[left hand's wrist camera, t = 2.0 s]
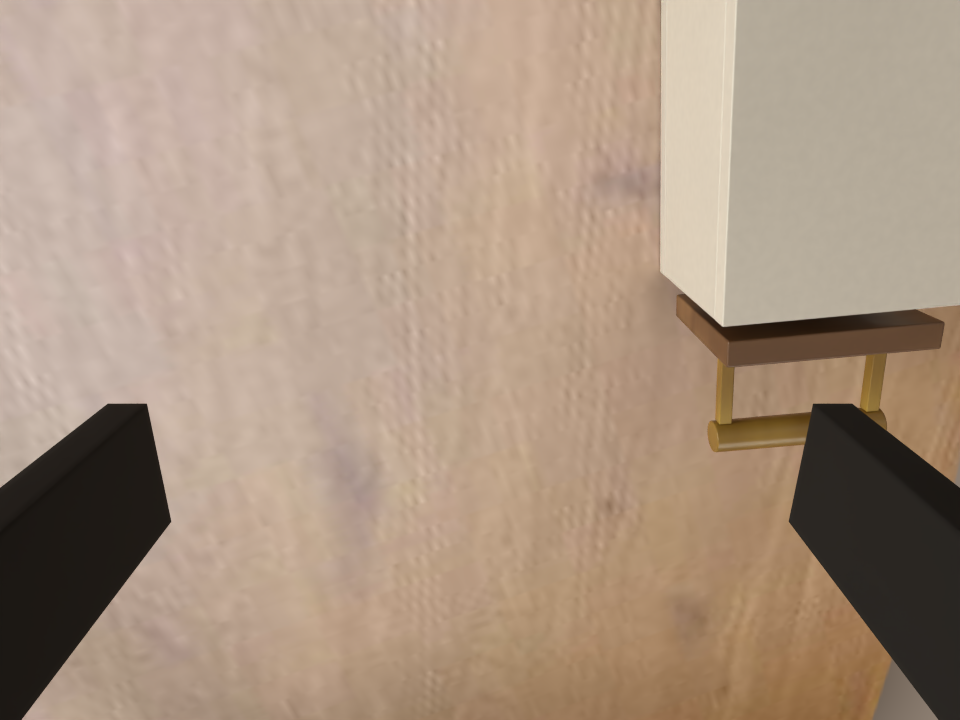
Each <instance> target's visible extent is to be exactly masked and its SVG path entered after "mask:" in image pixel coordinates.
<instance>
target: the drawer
mask: <svg viewBox="0 0 960 720" xmlns="http://www.w3.org/2000/svg"><path fill="white" fill-rule="evenodd" d="M676 315H677V317H678V318H679V319H680V320H681V321H682V322H683V323H684V324H685V325H686V326H687V327H688V328H689V329H690V330H691V331H692V332H693V333H694V334H695V335H696V336H697V337H698V338H699V339H700V340H701V341H702V342H703V344H704V345H705V346H706V347H707V348H708V349H709V350H710V351H711V352H712V353H713V354H714V355H715V356H716V357H717V358H718V365H717V391H716V416H715V419H716V420H715V421H710V422H709V424H708V440H709V444H710V446H711V449H712V450H713V451H714V452H724V451H736V450H747V449H759V448H771V447H783V446H794V445H805V441H806V436H807V431H808V426H809V422H810V417H811V412H807V413H795V414H784V415H772V416H761V417H749V418H738V419H732V406H733V385H734V367H741V366H752V365H763V364H774V363H785V362H796V361H807V360H819V359H830V358H841V357H852V356H863V355H866V363H865V371H864V378H863V386H862V394H861V402H860V407H861V408H858V409H859V410H861V411H862V412H863V413H865V414H866V415H867V416H868V417H870V418H871V419H872V420H873V421H875V422H876V423H877V424H879V425H880V426H881V427H882V428H884V429H885V430H887V422H886V418H885V415H884V413H883V412H882V410H881V409H880V408H879V406H880V399H881V391H882V384H883V377H884V370H885V363H886V356H887V353H896V352H908V351H919V350H930V349H939V348H940V347H941V341H942V336H943V330H944V322H943V321H941V320H938V319H936V318H934V317H932V316H929V315H927V314H925V313H923V312H921V311H918V310H916V309H912V310H901V311H890V312H879V313H868V314H857V315H847V316H836V317H825V318H814V319H803V320H792V321H781V322H771V323H760V324H749V325H738V326H727V327H722V326H721V325H720V324H719V323H718V322H717V321H716V320H715V319H714V318H712V317H711V316H710V315H709V314H708V313H707V312H706V311H704V310H703V309H702V308H701V307H700V306H699V305H698V304H696V303H695V302H694V301H693V300H692V299H691V298H690V297H688V296H687V295H686V294H680V295H677V309H676Z"/></svg>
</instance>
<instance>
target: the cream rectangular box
mask: <svg viewBox="0 0 960 720" xmlns="http://www.w3.org/2000/svg"><path fill="white" fill-rule="evenodd" d="M660 272H661V273H662V274H663V275H664V276H666V277H667V278H668V279H669V280H670V281H671V282H672V283H674V284H675V285H676V286H677V287H678V288H679V289H680V290H682V291H683V292H684V293H685V294H686V295H687V296H688V297H690V298H691V299H692V300H693V301H694V302H695V303H696V304H698V305H699V306H700V307H701V308H702V309H703V310H704V311H706V312H707V313H708V314H709V315H710V316H711V317H712V318H714V319H715V320H716V321H717V322H718V323H719V324H720V325H721V326H722V327H727V326H738V325H749V324H760V323H771V322H781V321H792V320H803V319H814V318H825V317H836V316H847V315H857V314H868V313H879V312H890V311H901V310H912V309H923V308H934V307H944V306H955V305H960V0H661V202H660Z"/></svg>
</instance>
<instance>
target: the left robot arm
mask: <svg viewBox="0 0 960 720" xmlns="http://www.w3.org/2000/svg"><path fill="white" fill-rule="evenodd" d="M170 523H171V518H170V513H169V509H168V504H167V499H166V494H165V489H164V484H163V480H162V475H161V470H160V465H159V460H158V455H157V451H156V446H155V441H154V436H153V431H152V426H151V422H150V417H149V412H148V407H147V404H107V405H106V406H104V407H103V408H102V409H101V410H99V411H98V412H97V413H95V414H94V415H93V416H92V417H90V418H89V419H88V420H87V421H85V422H84V423H83V424H81V425H80V426H79V427H78V428H76V429H75V430H74V431H72V432H71V433H70V434H69V435H67V436H66V437H65V438H63V439H62V440H61V441H60V442H58V443H57V444H56V445H55V446H53V447H52V448H51V449H49V450H48V451H47V452H46V453H44V454H43V455H42V456H40V457H39V458H38V459H37V460H35V461H34V462H33V463H31V464H30V465H29V466H28V467H26V468H25V469H24V470H23V471H21V472H20V473H19V474H17V475H16V476H15V477H14V478H12V479H11V480H10V481H8V482H7V483H6V484H5V485H3V486H2V487H1V488H0V720H22V718H23V717H24V716H25V714H26V713H27V712H28V710H29V709H30V708H31V706H32V705H33V704H34V702H35V701H36V700H37V698H38V697H39V696H40V694H41V693H42V692H43V691H44V689H45V688H46V687H47V685H48V684H49V683H50V681H51V680H52V679H53V677H54V676H55V675H56V673H57V672H58V671H59V669H60V668H61V667H62V665H63V664H64V663H65V661H66V660H67V659H68V657H69V656H70V655H71V653H72V652H73V651H74V650H75V648H76V647H77V646H78V644H79V643H80V642H81V640H82V639H83V638H84V636H85V635H86V634H87V632H88V631H89V630H90V628H91V627H92V626H93V624H94V623H95V622H96V620H97V619H98V618H99V616H100V615H101V614H102V612H103V611H104V610H105V608H106V607H107V606H108V605H109V603H110V602H111V601H112V599H113V598H114V597H115V595H116V594H117V593H118V591H119V590H120V589H121V587H122V586H123V585H124V583H125V582H126V581H127V579H128V578H129V577H130V575H131V574H132V573H133V571H134V570H135V569H136V567H137V566H138V565H139V564H140V562H141V561H142V560H143V558H144V557H145V556H146V554H147V553H148V552H149V550H150V549H151V548H152V546H153V545H154V544H155V542H156V541H157V540H158V538H159V537H160V536H161V534H162V533H163V532H164V530H165V529H166V528H167V526H168V525H169V524H170ZM789 523H790V524H791V525H792V526H793V528H794V529H795V530H796V532H797V533H798V534H799V536H800V537H801V538H802V540H803V541H804V542H805V544H806V545H807V546H808V548H809V549H810V550H811V552H812V553H813V554H814V556H815V557H816V558H817V560H818V561H819V562H820V564H821V565H822V566H823V567H824V569H825V570H826V571H827V573H828V574H829V575H830V577H831V578H832V579H833V581H834V582H835V583H836V585H837V586H838V587H839V589H840V590H841V591H842V593H843V594H844V595H845V597H846V598H847V599H848V601H849V602H850V603H851V605H852V606H853V607H854V609H855V610H856V611H857V612H858V614H859V615H860V616H861V618H862V619H863V620H864V622H865V623H866V624H867V626H868V627H869V628H870V630H871V631H872V632H873V634H874V635H875V636H876V638H877V639H878V640H879V642H880V643H881V644H882V646H883V647H884V648H885V650H886V651H887V652H888V653H889V655H890V656H891V657H892V659H893V660H894V661H895V663H896V664H897V665H898V667H899V668H900V669H901V671H902V672H903V673H904V675H905V676H906V677H907V679H908V680H909V681H910V683H911V684H912V685H913V687H914V688H915V689H916V691H917V692H918V693H919V694H920V696H921V697H922V698H923V700H924V701H925V702H926V704H927V705H928V706H929V708H930V709H931V710H932V712H933V713H934V714H935V716H936V717H937V718H938V720H960V488H959V487H958V486H957V485H955V484H954V483H953V482H952V481H950V480H949V479H948V478H946V477H945V476H944V475H943V474H941V473H940V472H939V471H937V470H936V469H935V468H934V467H932V466H931V465H930V464H929V463H927V462H926V461H925V460H923V459H922V458H921V457H920V456H918V455H917V454H916V453H914V452H913V451H912V450H911V449H909V448H908V447H907V446H905V445H904V444H903V443H902V442H900V441H899V440H898V439H897V438H895V437H894V436H893V435H891V434H890V433H889V432H888V431H886V430H885V429H884V428H882V427H881V426H880V425H879V424H877V423H876V422H875V421H873V420H872V419H871V418H870V417H868V416H867V415H866V414H865V413H863V412H862V411H861V410H859V409H858V408H857V407H856V406H854V405H853V404H813V407H812V412H811V417H810V422H809V426H808V431H807V436H806V441H805V446H804V451H803V455H802V460H801V465H800V470H799V475H798V480H797V484H796V489H795V494H794V499H793V504H792V509H791V513H790V518H789Z"/></svg>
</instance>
